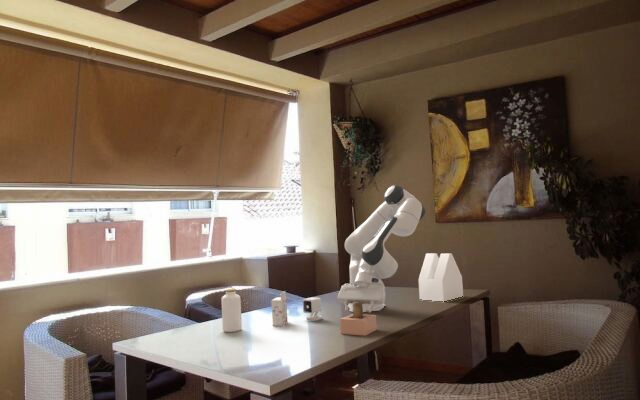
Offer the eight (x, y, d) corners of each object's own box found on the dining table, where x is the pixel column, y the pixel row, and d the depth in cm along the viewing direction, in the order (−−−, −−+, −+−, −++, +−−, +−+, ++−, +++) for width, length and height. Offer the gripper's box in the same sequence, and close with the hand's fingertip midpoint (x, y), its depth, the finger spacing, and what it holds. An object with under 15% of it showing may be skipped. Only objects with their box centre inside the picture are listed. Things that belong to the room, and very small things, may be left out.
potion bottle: (234, 327, 222) (233, 287, 223) (245, 329, 216) (243, 289, 217) (219, 331, 216) (217, 290, 217) (229, 333, 211) (227, 291, 211)
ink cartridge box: (277, 322, 230) (276, 290, 231) (287, 322, 229) (286, 290, 230) (272, 326, 221) (270, 293, 222) (282, 326, 220) (281, 293, 221)
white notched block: (443, 302, 258) (440, 255, 260) (419, 300, 270) (416, 254, 271) (463, 297, 271) (460, 252, 273) (439, 295, 283) (436, 252, 284)
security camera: (303, 320, 231) (302, 299, 231) (313, 317, 236) (312, 296, 236) (313, 321, 226) (312, 299, 227) (323, 319, 232) (322, 297, 232)
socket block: (353, 327, 209) (352, 313, 209) (376, 329, 203) (376, 315, 203) (340, 333, 199) (340, 318, 199) (365, 335, 194) (364, 320, 194)
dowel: (356, 330, 204) (355, 301, 204) (365, 331, 202) (363, 301, 202) (352, 332, 200) (350, 302, 201) (361, 333, 198) (359, 303, 199)
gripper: (339, 279, 213) (331, 306, 204) (384, 279, 204) (378, 307, 195) (344, 288, 217) (336, 314, 207) (388, 288, 208) (382, 316, 198)
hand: (357, 311), depth 201 cm, fingers open, 8 cm apart
